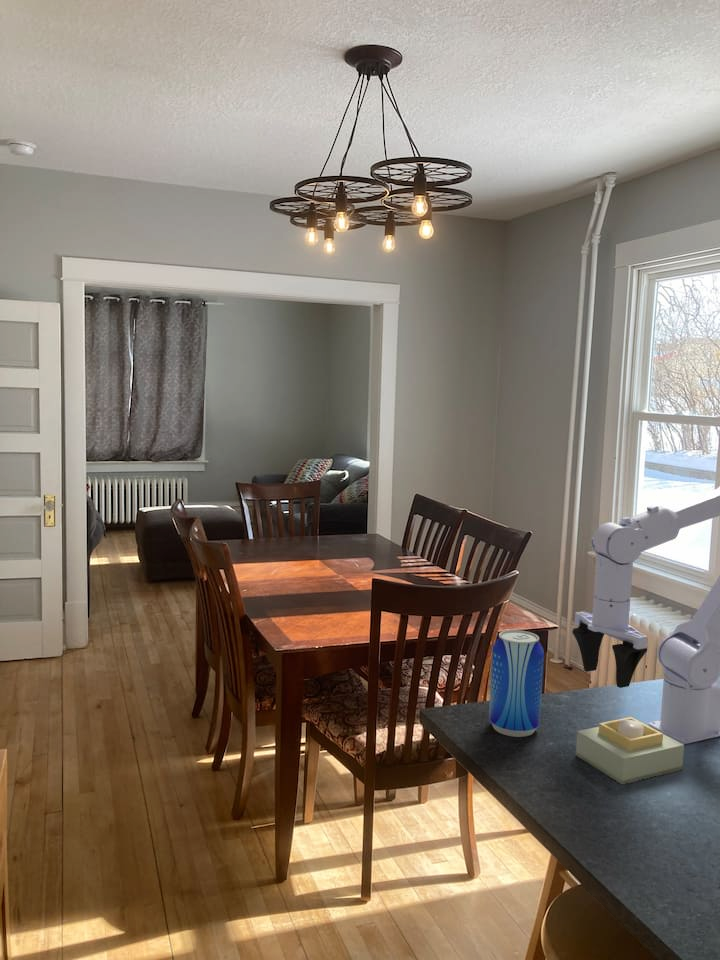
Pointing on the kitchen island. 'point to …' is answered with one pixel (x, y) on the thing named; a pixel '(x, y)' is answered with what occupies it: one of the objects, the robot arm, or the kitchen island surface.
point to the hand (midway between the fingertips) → (606, 678)
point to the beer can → (516, 683)
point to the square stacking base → (629, 752)
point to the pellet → (630, 728)
